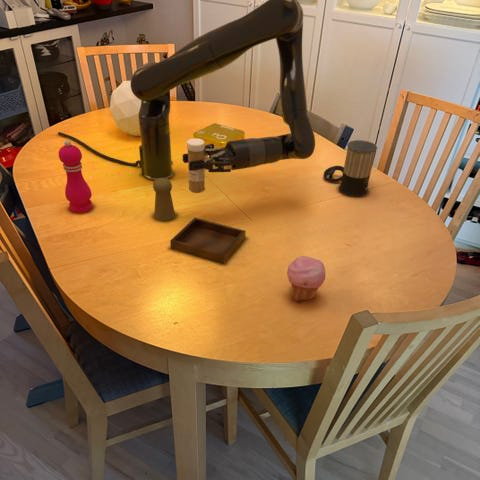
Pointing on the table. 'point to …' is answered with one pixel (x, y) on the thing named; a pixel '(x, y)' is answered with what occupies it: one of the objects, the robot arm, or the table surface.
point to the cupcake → (305, 277)
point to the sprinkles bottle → (195, 153)
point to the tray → (208, 240)
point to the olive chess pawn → (163, 200)
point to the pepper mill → (75, 179)
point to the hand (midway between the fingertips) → (186, 162)
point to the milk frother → (355, 168)
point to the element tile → (219, 135)
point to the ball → (125, 109)
